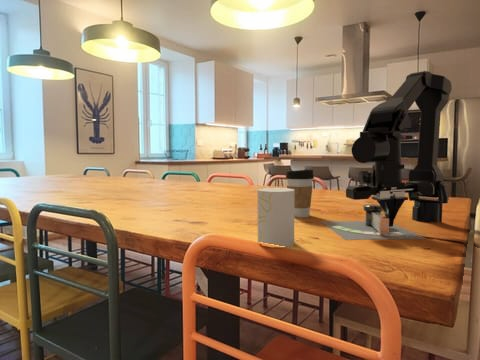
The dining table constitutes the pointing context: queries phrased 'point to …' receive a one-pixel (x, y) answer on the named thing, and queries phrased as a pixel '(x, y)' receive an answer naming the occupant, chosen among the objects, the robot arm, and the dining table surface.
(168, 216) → the dining table surface
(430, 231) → the dining table surface
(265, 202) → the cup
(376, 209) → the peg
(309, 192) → the coffee cup
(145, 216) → the dining table surface
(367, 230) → the dial board
